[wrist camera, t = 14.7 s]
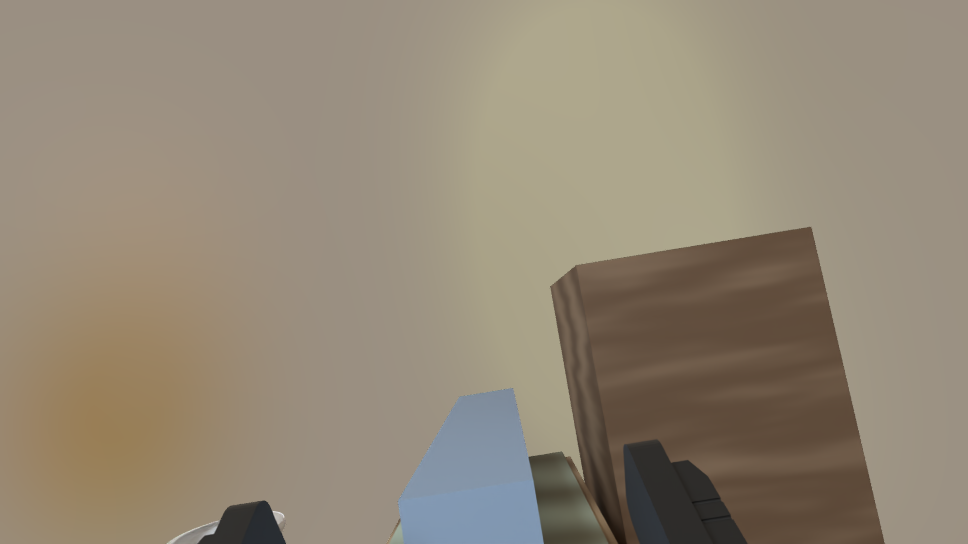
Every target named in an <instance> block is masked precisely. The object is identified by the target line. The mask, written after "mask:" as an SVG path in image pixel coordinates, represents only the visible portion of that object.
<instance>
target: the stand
mask: <svg viewBox="0 0 968 544" xmlns="http://www.w3.org/2000/svg"><path fill="white" fill-rule="evenodd" d="M550 287H551V292H552V298H553V304H554V310H555V315H556V321H557V327H558V333H559V338H560V344H561V350H562V355H563V361H564V367H565V372H566V378H567V384H568V389H569V395H570V401H571V407H572V412H573V418H574V423H575V429H576V435H577V441H578V447H579V452H580V458H581V464H582V469H583V474H584V481H585V484H586V486H587V488H588V490H589V492H590V494H591V495H592V497H593V499H594V501H595V503H596V504H597V506H598V508H599V510H600V512H601V514H602V515H603V517H604V519H605V521H606V523H607V524H608V526H609V528H610V530H611V532H612V534H613V535H614V537H615V539H616V541H617V543H618V544H640V543H639V540H638V537H637V535H636V532H635V529H634V527H633V524H632V521H631V517H630V514H629V510H628V505H627V499H626V488H625V471H624V454H623V447H624V444H630V443H636V442H642V441H648V440H655V439H658V440H659V441H660V443H661V444H662V446H663V448H664V450H665V452H666V454H667V456H668V458H669V460H670V462H671V463H672V462H678V461H684V460H689V461H690V462H691V463H692V464H694V465H695V466H696V467H697V468H699V469H700V470H701V471H702V472H703V473H705V474H706V475H707V476H708V477H709V479H710V480H711V482H712V484H713V485H714V487H715V489H716V491H717V492H718V494H719V496H720V497H721V501H722V502H724V504H725V506H726V508H727V509H728V511H729V513H730V514H731V518H732V520H733V519H734V521H735V523H736V525H737V526H738V528H739V530H740V531H741V533H742V535H743V536H744V538H745V540H746V542H747V543H748V544H885V543H884V539H883V534H882V530H881V526H880V521H879V517H878V513H877V509H876V504H875V500H874V496H873V491H872V487H871V483H870V478H869V474H868V470H867V466H866V461H865V457H864V453H863V448H862V444H861V439H860V435H859V431H858V427H857V423H856V418H855V414H854V409H853V405H852V401H851V396H850V392H849V388H848V383H847V379H846V375H845V370H844V366H843V362H842V358H841V353H840V349H839V345H838V340H837V336H836V332H835V327H834V323H833V319H832V314H831V310H830V306H829V301H828V297H827V293H826V288H825V284H824V280H823V275H822V271H821V267H820V263H819V259H818V254H817V250H816V245H815V241H814V237H813V232H812V229H811V227H807V228H801V229H795V230H788V231H783V232H777V233H770V234H764V235H759V236H752V237H746V238H740V239H733V240H728V241H721V242H715V243H709V244H703V245H697V246H691V247H685V248H679V249H672V250H666V251H660V252H654V253H648V254H642V255H636V256H630V257H624V258H617V259H612V260H605V261H599V262H593V263H587V264H581V265H576V266H575V267H574V268H572V269H571V270H570V271H569V272H567V273H566V274H565V275H564V276H563V277H561V278H560V279H559V280H558V281H557V282H556V283H554V284H553V285H552V286H550Z"/></svg>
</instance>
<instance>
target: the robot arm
mask: <svg viewBox="0 0 968 544" xmlns="http://www.w3.org/2000/svg"><path fill="white" fill-rule="evenodd" d="M623 454H624V471H625V488H626V499H627V505H628V510H629V514H630V517H631V521H632V524H633V527H634V529H635V532H636V535H637V537H638V540H639V543H640V544H748V543H747V542H746V540H745V538H744V536H743V535H742V533H741V531H740V530H739V528H738V526H737V525H736V523H735V521H734V519H733V520H732V518H731V514H730V513H729V511H728V509H727V508H726V506H725V504H724V502H722V501H721V497H720V496H719V494H718V492H717V491H716V489H715V487H714V485H713V484H712V482H711V480H710V479H709V477H708V476H707V475H706V474H705V473H703V472H702V471H701V470H700V469H699V468H697V467H696V466H695V465H694V464H692V463H691V462H690V461H689V460H684V461H678V462H672V463H671V462H670V460H669V458H668V456H667V454H666V452H665V450H664V448H663V446H662V444H661V443H660V441H659V440H658V439H655V440H648V441H642V442H636V443H630V444H624V447H623ZM197 544H286V543H285V540H284V538H283V536H282V533H281V531H280V528H279V526H278V524H277V521H276V519H275V517H274V514H273V512H272V510H271V508H270V505H269V504H268V502H266V501H258V502H251V503H246V504H239V505H233V506H230V507H228V508H227V509H226V510H225V512H224V514H223V516H222V518H221V520H220V522H219V524H218V526H217V528H216V530H215V533H214V534H210V535H205V536H204V537H203V538H202V539H201V540H200V541H199V542H198V543H197Z"/></svg>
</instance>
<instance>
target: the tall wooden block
mask: <svg viewBox="0 0 968 544" xmlns="http://www.w3.org/2000/svg"><path fill="white" fill-rule="evenodd" d="M528 458H529V463H530V467H531V472H532V476H533V481H534V488H535V494H536V500H537V506H538V512H539V518H540V524H541V530H542V536H543V542H544V544H618V543H617V541H616V539H615V537H614V535H613V534H612V532H611V530H610V528H609V526H608V524H607V523H606V521H605V519H604V517H603V515H602V514H601V512H600V510H599V508H598V506H597V504H596V503H595V501H594V499H593V497H592V495H591V494H590V492H589V490H588V488H587V486H586V484H585V483H584V481H583V479H582V477H581V475H580V474H579V472H578V470H577V468H576V467H575V464H574V463H573V461H572V459H571V457H565V456H564V454H563V453H562V452H556V453H550V454H544V455H538V456H531V457H528ZM387 544H404V541H403V533H402V526H401V519H399V521H398V523H397V525H396V527H395V528H394V530H393V532H392V534H391V536H390V538H389V540H388V542H387Z"/></svg>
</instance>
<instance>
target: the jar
mask: <svg viewBox="0 0 968 544" xmlns="http://www.w3.org/2000/svg"><path fill="white" fill-rule="evenodd" d="M272 512H273V514H274V517H275V519H276V521H277V524H278V526H279V528H280V531H281V532H282V531H283V529H284V527H285V518H284V515H283V514H282V513H280V512H274V511H272ZM219 522H220V520H219V521H215V522H212V523H209V524H206V525H203V526H201V527H198V528H195V529H193V530H190V531H188V532H186V533H184V534H181V535H179V536H177V537H176V538H174V539H172V540H171V541H169V542H168V543H166V544H197V543H198V542H199V541H200V540H201V539H202V538H203V537H204V536H205V535H210V534H214V533H215V530H216V528H217V526H218V524H219Z"/></svg>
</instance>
